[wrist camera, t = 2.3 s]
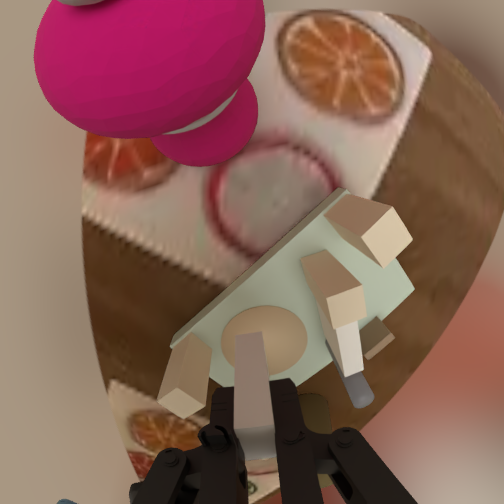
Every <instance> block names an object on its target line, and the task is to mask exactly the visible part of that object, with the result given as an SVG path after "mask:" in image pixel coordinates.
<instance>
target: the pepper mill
mask: <svg viewBox="0 0 504 504" xmlns="http://www.w3.org/2000/svg"><path fill="white" fill-rule="evenodd" d="M264 32H265V12H264V5H263V0H52V1H51V3H50V4H49V6H48V8H47V10H46V12H45V14H44V16H43V18H42V20H41V23H40V25H39V28H38V30H37V36H36V42H35V49H34V63H35V71H36V75H37V79H38V82H39V85H40V87H41V89H42V91H43V94H44V96H45V98H46V99H47V101H48V102H49V103H50V105H51V106H52V107H53V109H54V110H55V111H57V112H58V113H59V114H60V115H61V116H63V117H64V118H65V119H66V120H68V121H69V122H71V123H72V124H74V125H76V126H77V127H79V128H81V129H83V130H86V131H89V132H92V133H94V134H97V135H101V136H106V137H112V138H125V139H131V138H149V137H150V139H151V141H152V142H153V144H154V145H155V146H156V148H157V149H158V150H159V151H160V152H161V153H163V154H164V155H165V156H167V157H168V158H170V159H172V160H174V161H176V162H178V163H181V164H184V165H188V166H197V167H202V166H211V165H215V164H218V163H221V162H223V161H226V160H228V159H229V158H231V157H233V156H234V155H235V154H237V153H238V152H239V151H240V150H241V149H242V148H243V147H244V146H245V145H246V144H247V143H248V141H249V140H250V138H251V136H252V134H253V133H254V130H255V127H256V124H257V118H258V104H257V97H256V95H255V92H254V89H253V86H252V85H251V83H250V82H249V80H248V79H247V77H248V76H249V74H250V72H251V70H252V67H253V65H254V63H255V61H256V59H257V57H258V54H259V52H260V49H261V46H262V43H263V40H264Z"/></svg>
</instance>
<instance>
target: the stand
mask: <svg viewBox="0 0 504 504" xmlns="http://www.w3.org/2000/svg"><path fill="white" fill-rule="evenodd" d="M412 240H413V239H412V237H411V235H410V234H409V232H408V230H407V229H406V227H405V225H404V224H403V222H402V221H401V219H400V217H399V216H398V214H397V213H396V211H395V210H394V208H393V207H392V206H389V205H386V204H382V203H379V202H375V201H372V200H368V199H364V198H361V197H357V196H353V195H351V194H350V193H349V191H348V190H347V189H344V188H339V187H338V188H337V189H336V190H335V191H333V192H332V193H331V194H330V195H329V196H328V197H327V198H326V199H325V200H324V201H322V202H321V203H320V204H319V205H318V206H317V207H316V208H315V209H314V210H313V211H312V212H310V213H309V214H308V215H307V216H306V217H305V218H304V219H303V220H302V221H301V222H299V223H298V224H297V225H296V226H295V227H294V228H293V229H292V230H291V231H290V232H288V233H287V234H286V235H285V236H284V237H283V238H282V239H281V240H280V241H278V242H277V243H276V244H275V245H274V246H273V247H272V248H271V249H270V250H268V251H267V252H266V253H265V254H264V255H263V256H262V257H261V258H260V259H258V260H257V261H256V262H255V263H254V264H253V265H252V266H251V267H250V268H248V269H247V270H246V271H245V272H244V273H243V274H242V275H241V276H240V277H238V278H237V279H236V280H235V281H234V282H233V283H232V284H231V285H229V286H228V287H227V288H226V289H225V290H224V291H223V292H222V293H220V294H219V295H218V296H217V297H216V298H215V299H214V300H213V301H211V302H210V303H209V304H208V305H207V306H206V307H205V308H204V309H202V310H201V311H200V312H199V313H198V314H197V315H196V316H195V317H193V318H192V319H191V320H190V321H189V322H188V323H187V324H185V325H184V326H183V327H182V328H181V329H180V330H179V331H178V332H176V333H175V334H174V336H173V338H172V341H171V344H170V347H171V348H172V349H173V350H172V353H171V356H170V359H169V362H168V365H167V368H166V372H165V375H164V378H163V381H162V384H161V388H160V391H159V394H158V398H157V401H156V402H157V403H159V404H160V405H162V406H163V407H165V408H166V409H168V410H169V411H171V412H173V413H174V414H176V415H177V416H179V417H181V418H182V419H185V418H187V417H188V416H190V415H192V414H193V413H195V412H197V411H199V410H200V409H202V408H203V407H205V406H206V398H207V389H208V380H209V377H210V378H212V379H213V380H214V381H216V382H217V383H219V384H220V385H222V386H223V387H231V386H234V372H235V335H240V334H247V333H254V332H261V331H262V335H263V340H264V346H265V352H266V358H267V363H268V370H269V377H270V381H272V380H278V379H284V378H290V379H291V380H292V381H293V382H294V383H295V385H296V387H297V386H298V385H300V384H301V383H302V382H304V381H305V380H307V379H308V378H310V377H311V376H313V375H314V374H315V373H317V372H318V371H319V370H321V369H322V368H324V367H325V366H326V365H328V364H329V363H330V362H332V361H334V363H335V365H336V368H337V370H338V372H339V374H340V376H341V379H342V381H343V383H344V385H345V387H346V390H347V392H348V394H349V396H350V398H351V401H352V403H353V405H354V407H356V408H363V407H365V406H367V405H369V404H370V403H371V402H372V401H373V399H374V394H373V392H372V391H371V389H370V387H369V385H368V383H367V381H366V380H365V378H364V376H363V374H362V372H361V371H360V372H357V373H355V374H352V375H350V376H347V377H344V375H343V373H342V370H341V368H340V366H339V364H338V362H337V360H336V358H335V356H334V354H333V352H332V350H331V348H330V346H329V343H328V341H327V339H326V337H325V335H324V332H323V328H322V324H321V320H320V316H319V312H318V307H317V303H316V299H315V296H314V295H313V293H312V291H311V289H310V288H309V286H308V284H307V282H306V278H305V274H304V271H303V267H302V264H301V260H300V258H303V257H306V256H309V255H312V254H315V253H318V252H321V251H324V250H327V251H328V252H330V253H331V254H332V255H333V256H334V257H335V258H336V259H337V260H338V261H339V262H340V263H341V264H342V265H343V266H344V267H345V268H346V269H347V270H348V271H349V272H350V273H351V274H352V275H353V276H354V277H355V278H356V279H357V280H358V281H359V282H360V283H361V284H362V285H363V291H364V298H365V305H366V312H367V317H365V318H362V319H360V320H357V321H358V328H359V335H360V342H361V350H362V353H363V355H364V356H365V357H366V358H367V359H368V360H369V359H371V358H372V357H373V356H374V355H375V354H377V353H378V352H379V351H380V350H381V349H383V348H384V347H385V346H386V345H387V344H389V343H390V342H391V341H392V340H393V339H394V338H395V337H394V336H393V335H392V333H391V332H390V331H389V330H388V328H387V327H386V326H385V325H384V324H383V323H382V320H383V319H384V318H385V317H386V316H387V315H388V314H389V313H390V312H392V311H393V310H394V309H395V308H396V307H397V306H398V305H399V304H400V303H401V302H402V301H403V300H404V299H405V298H406V297H407V296H408V295H409V294H410V293H411V292H412V291H413V290H414V287H413V285H412V284H411V282H410V280H409V279H408V277H407V275H406V274H405V272H404V270H403V269H402V267H401V266H400V264H399V262H398V261H397V259H396V258H395V257H396V256H397V255H398V254H399V253H400V252H401V251H402V250H403V249H404V248H405V247H406V246H407V245H408V244H409V243H410V242H411V241H412ZM267 459H270V458H266V459H262V460H264V461H265V460H267Z"/></svg>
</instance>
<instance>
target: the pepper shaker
mask: <svg viewBox="0 0 504 504" xmlns="http://www.w3.org/2000/svg"><path fill="white" fill-rule="evenodd" d="M298 398H299V402H300V406H301V411H302V415H303V419H304V423H305V425H306V427H307V428H308V429H309V430H311V431H313V432H315V433H321V434H332V427H331V421H330V414H329V408H328V402H327V400H326V399H325V398H324V397H323V396H321V395H318V394H303V395H299V396H298ZM317 475H318V479H319V484H320V488H324V487H327V486H330V485H332V484H333V482H332V481H331V479H330V477H329V476H328V474H317Z"/></svg>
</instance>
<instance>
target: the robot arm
mask: <svg viewBox="0 0 504 504" xmlns="http://www.w3.org/2000/svg"><path fill="white" fill-rule="evenodd" d="M198 438H199V440H200V441H201V443H202V445H201V446H199V447H197V448H195V449H191V450H188V451H184V452H183V451H182V450H180V449H178V448H167V449H164V450H163V451H161V452H160V453H159V454H158V455H157V457H156V459H155V461H154V463H153V464H152V466H151V468H150V470H149V472H148V474H147V476H146V478H145V480H144V482H138V483H134V484H132V485H131V487H130V491H129V498H130V504H249V502H248V480H247V469H246V466H245V459H246V461H247V460H257V459H266V458H274V457H277V463H278V472H279V480H280V488H281V497H282V504H324V502H323V498H322V493H321V488H320V484H319V479H318V475H317V474H328V476H329V477H330V479H331V481H332V482H333V484H334V485H335V487H336V488H337V490H338V492H339V493H340V494H341V496H342V498H343V499H344V501H345V503H346V504H418V503H417V502H416V501H415V500H414V498H413V497H412V496H411V495H410V494H409V492H408V491H407V490H406V489H405V488H404V486H403V485H402V484H401V483H400V482H399V480H398V479H397V478H396V477H395V476H394V475H393V473H392V472H391V471H390V469H389V468H388V467H387V466H386V465H385V463H384V462H383V461H382V460H381V458H380V457H379V456H378V455H377V454H376V452H375V451H374V450H373V448H372V447H371V446H370V445H369V443H368V442H367V441H366V440H365V438H364V437H363V436H362V435H361V433H360V432H359V431H357V430H356V429H353V428H350V427H343V428H340V429H337V430H336V431H334V432H333V433H332V434H321V433H315V432H313V431H311V430H309V429H308V428H307V427H306V425H305V423H304V419H303V415H302V411H301V406H300V402H299V398H298V394H297V389H296V385H295V383H294V382H293V381H292V380H291V379H290V378H284V379H278V380H272V381H270V377H269V370H268V363H267V358H266V352H265V346H264V340H263V335H262V331H261V332H254V333H247V334H240V335H235V372H234V386H231V387H221V388H217V389H216V391H215V392H214V394H213V395H212V405H211V415H210V424H208V425H206V426H204V427H203V428H202V429H201V430H200V431H199V433H198ZM57 504H77V503H75V502H73V501H70V500H68V499H61V500H59V501H58V503H57Z"/></svg>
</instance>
